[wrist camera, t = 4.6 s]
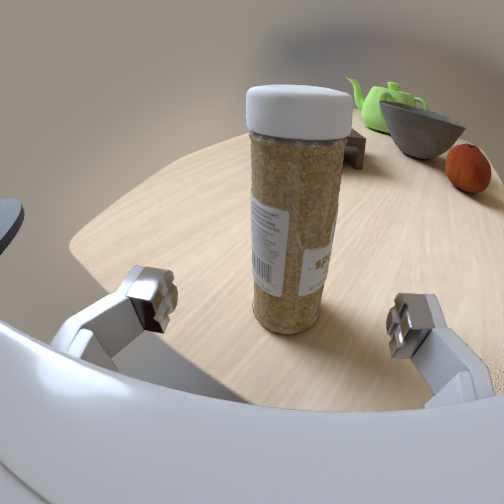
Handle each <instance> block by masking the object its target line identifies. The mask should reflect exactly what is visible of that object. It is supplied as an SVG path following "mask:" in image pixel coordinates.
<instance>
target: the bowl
mask: <svg viewBox="0 0 504 504" xmlns="http://www.w3.org/2000/svg"><path fill="white" fill-rule="evenodd" d="M379 104H380V107H381V110H382V113H383V116H384V119H385V122H386V125H387V128H388V130H389V133H390V135H391V137H392V139H393V140H394V142H395V144H396V145H397V146H398V148H399V149H400V150H401V151H402V152H403V153H405V154H407V155H409V156H412V157H415V158H419V159H431V158H435V157H436V156H439V155H441V154H443V153H444V152H446V151H447V150H448V149H449V148H450V147H451V146H452V145H453V144H454V143H455V142H456V141H457V139H458V138H459V137H460V136H461V135H462V133H463V132H464V130H465V129H466V128H465V127H464V126H463V125H461V124H460V123H458V122H456V121H455V120H453V119H451V118H448V117H446V116H443V115H440V114H437V113H434V112H431V111H428V110H424V109H421V108H417V107H413V106H410V105H407V104H402V103H398V102H392V101H383V100H380V101H379Z"/></svg>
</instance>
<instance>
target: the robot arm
mask: <svg viewBox="0 0 504 504" xmlns="http://www.w3.org/2000/svg"><path fill="white" fill-rule="evenodd" d="M173 280H174V276H173V272H172V271H170V270H165V269H158V268H152V267H144V266H138V265H135V266H133V267H132V268H131V270H130V271H129V273H128V274H127V276H126V277H125V279H124V280H123V282H122V283H121V285H120V286H119V288H118V289H117V291H116V292H115V294H112V293H111V294H109V295H107V296H106V297H104V298H103V299H101V300H99V301H97V302H96V303H94V304H92V305H90V306H89V307H87V308H85V309H84V310H82V311H80V312H79V313H77V314H75V315H74V316H72V317H70V318H69V319H67V320H65V321H64V323H63V324H62V326H61V328H60V329H59V331H58V332H57V334H56V335H55V337H54V339H53V340H52V342H51V343H50V345H48V344H46V343H44V342H42V341H40V340H38V339H36V338H34V337H32V336H30V335H28V334H26V333H24V332H22V331H20V330H18V329H17V328H15V327H13V326H11V325H9V324H8V323H6V322H4V321H2V320H1V319H0V504H504V394H501V395H497V396H495V394H494V389H493V385H492V381H491V377H490V374H489V370H488V367H487V366H486V365H485V364H484V363H483V361H482V360H481V359H480V358H479V357H478V356H477V355H476V354H475V353H474V352H473V351H472V350H471V349H470V348H469V346H468V345H467V344H466V343H465V342H464V341H463V340H462V339H461V338H460V337H459V336H458V335H457V334H456V333H455V332H454V331H453V330H452V329H451V328H447V324H446V322H445V319H444V316H443V313H442V310H441V307H440V304H439V302H438V299H437V297H436V296H435V295H434V294H413V293H398V294H397V296H396V298H395V300H394V301H395V306H394V307H392V308H391V309H390V311H389V313H388V316H387V321H386V328H387V334H388V335H389V336H390V337H391V338H392V339H391V341H390V342H389V347H390V353H391V358H397V359H411V361H412V362H413V364H414V365H415V367H416V368H417V370H418V371H419V372H420V374H421V375H422V377H423V378H424V380H425V381H426V383H427V384H428V386H429V387H430V389H431V391H432V392H433V394H434V396H433V397H432V398H431V399H430V400H429V401H428V402H427V403H426V404H425V405H424V408H421V409H410V410H397V411H377V412H332V411H311V410H297V409H285V408H276V407H267V406H259V405H252V404H245V403H239V402H233V401H226V400H221V399H216V398H211V397H206V396H201V395H196V394H192V393H188V392H183V391H179V390H175V389H171V388H167V387H163V386H160V385H156V384H152V383H149V382H146V381H142V380H139V379H136V378H132V377H129V376H126V375H123V374H120V373H117V371H118V369H117V367H116V365H115V364H114V362H113V361H112V360H111V358H112V357H113V356H114V355H116V354H117V353H118V352H119V351H120V350H122V349H123V348H124V347H125V346H127V345H128V344H129V343H130V342H131V341H133V340H134V339H135V338H136V337H137V336H139V335H140V334H141V333H142V332H143V331H144V330H148V331H152V332H158V333H163V334H164V332H165V330H166V328H167V326H168V323H169V321H170V319H169V316H168V315H169V314H170V313H172V312H174V310H175V308H176V306H177V301H178V291H177V287H176V286H175V285H174V284H173V283H172V282H173Z"/></svg>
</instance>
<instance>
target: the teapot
mask: <svg viewBox="0 0 504 504" xmlns="http://www.w3.org/2000/svg"><path fill="white" fill-rule="evenodd" d="M347 79H348V80H349V81H350V82H351V83H352V84H353V87H354V94H355V95H354V97H355V103H356V105H357V107H358V108H359V109H360V110H361V118H362V120H363V123H364V124H365V126H367V127H369V128H371V129H374V130H379V131H383V132H387V133H389V130H388V128H387V125H386V122H385V119H384V116H383V113H382V110H381V107H380V104H379V101H380V100H383V101H392V102H398V103H402V104H407V105H410V106H413V107H417V106H416V103H415V101H418V102H420V103H422V104H423V106H424V110H428V106H427V104H426V103H425V102H424V101H423V100H422V99H420V98H417V97H416V98H414V97H413V96H412V95H411V94H408V93H404V92H400V91H398V89H399V87H400V85H399V84H397V83H392V82H388V86H389V89H387V88H382V87H376V86H374V87H373V88H372V89H371V91H370V92H369V94H368V96H367V98H366V99H364V98H363V96H362V94H361V88H360V85H359V83H358V82H357V81H356V80H353V79H350V78H347Z"/></svg>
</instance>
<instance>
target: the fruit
mask: <svg viewBox="0 0 504 504" xmlns="http://www.w3.org/2000/svg"><path fill="white" fill-rule="evenodd" d="M445 168H446V174H447V177H448V178H449V180H450V181H451V183H452V184H453V185H455V186H456V187H458V188H460V189H461V190H463V191H466V192H470V193H479V192H482V191H484V190H485V189H486V188H487V187H488V185H489V183H490V179H491V167H490V165H489V162H488V161H487V159H486V157H485V156H484V155H483V154H482V153H481V151H480V150H479V148H478V147H477V146H474V145H471V144H461V145H457V146H455V147H454V148H452V149H451V150H450V151H449V153H448V155H447V159H446V163H445Z"/></svg>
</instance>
